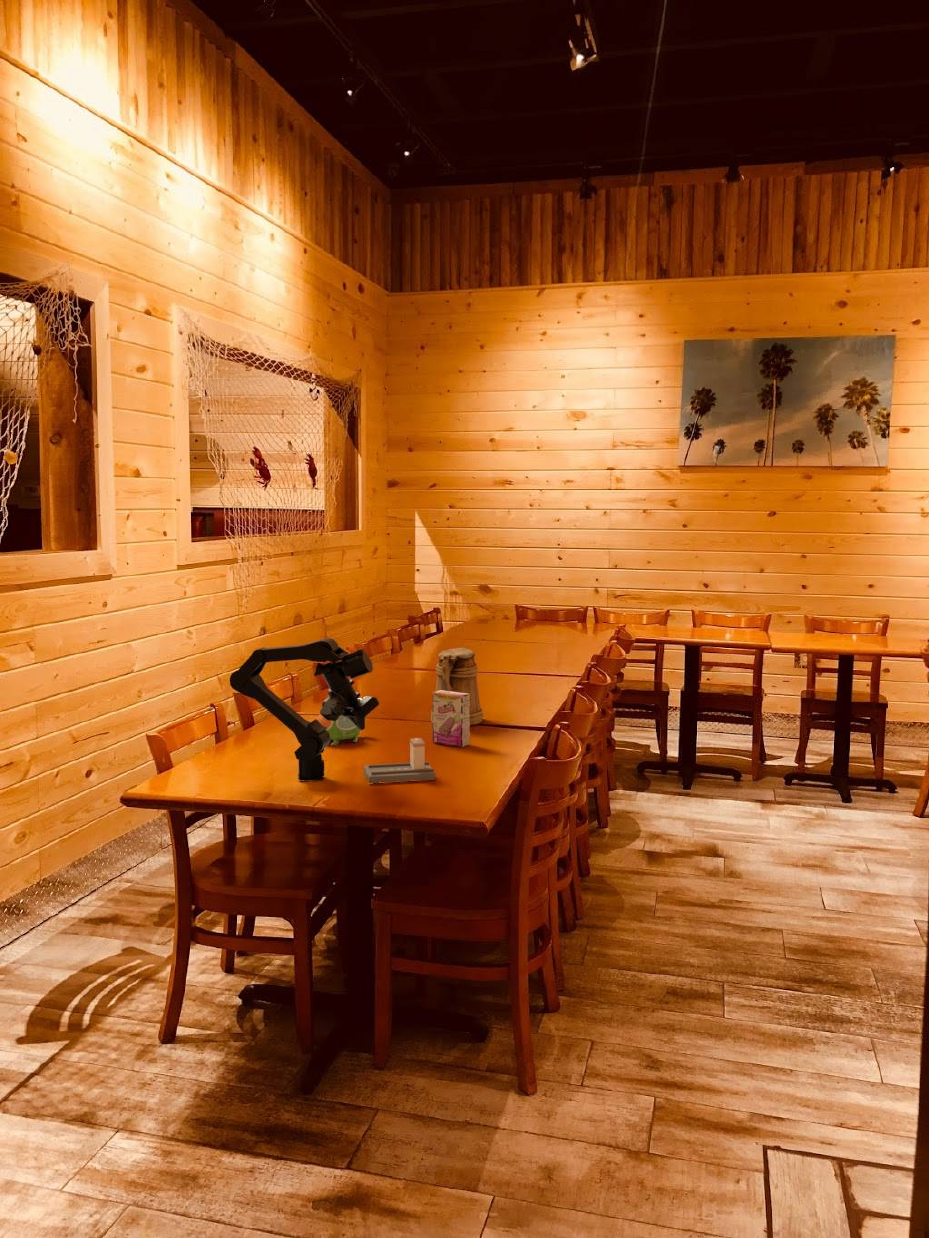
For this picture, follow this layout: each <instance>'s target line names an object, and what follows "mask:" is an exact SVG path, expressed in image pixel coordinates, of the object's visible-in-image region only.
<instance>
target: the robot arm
mask: <svg viewBox="0 0 929 1238" xmlns="http://www.w3.org/2000/svg"><path fill="white" fill-rule="evenodd" d="M295 660H296V661H297V660H299V661H300V660H305V661H309V662H318V663H317V664H316V666H315V671H314V673H313V676H314V677H317V676H320V675H322V677H323V679H324V680H325V682H326V684H327V686H328V688H329V689H328V690H327V695H328V697H327V698H326V699H324V700H323V701H322V704H321V709H320V711H319V715H320V714H321V715H322V716H323V717H324V718H325V719H327V720H331V721H336V720H337V719H338V718H339V716H341V715H343V716H347V717H348V718H349V719H350V720H351V721H352V722H353V723H354V724H355V725H356V726H357V727H358V728H359V729H360V730H361V731H364V730H365V728H366V718H365V716H367V717H368V715H369V714H371V712H372V711H374V710H375V709H376V708H377V707H378V706H380V702H379V700H378V698H377V697H375V696H369V695H365V696H364V697H362V698H360V697H361V693H360V692H357V691H355V688H354V686H353V685H354V684H355V681H354V680H353V679H355V678H359V677H361V676H364V675H368V674H370V673H373V669H374V667H373V661H372V659H371V658H370V657H369V655H368V653H367V652H365V648H361V649H358V650H356V651H354V652H351V653H349V652H348V651H346V650H345V649H343V648H342V647H340V646H339V643H337V641H336V640H335V639H333V638H332V637H326V638H321V639H319V640H316V641H313V642H312V641H311V642H309V643H304V644H299V645H296V644H295V645H285V646H284V645H283V646H273V647H272V646H271V647H260V648H257V649H255V650H253V652H252V653H251V655H250V656H249V657H248V658H247V659H246V661H244V662H243V664H242V665H241V666H240V667H239V668H238V669H237V670H235V671H233V672H232V673H231V674H230V676H229V685H230V687H231V689H233V690H234V691H235V692H238V693H239V694H241V695H243V696H244V697H248V698H250V699H253V700H254V701H256V702H257V703H258V704H260V705H261V706H262V707H263V708H264V709H265V710H267V711H268V713H270V714H271V715H272V716H274V717H275V718H276V719H277V720H278V721H279V722H281V723H282V724H283V725H285V727H286V728H287V729H289V730H290V731H291V732H293V734H294V736H295V737H296V738H295V739H296V740H297V742H298V743H299V744H300V746H299V747H298V748H297V749H295V751H294V752H293V753H294V757H295V758H296V760H297V761H298V763H297V764H298V773H297V777H298V781H299V780H316V781H323V780H324V777H325V761H324V759H323V756H322V754H324V752H325V751H324V750H325V749H326V747H328V746H329V745H330V744H331V740H330V734H329V732H328V731H327V730H326V729H327V727H324V726H323V725H321V724H320V722H319V721H318V719H317V718H316V719H313V720H312V721H309V720H307V719H305V718H303V716H301V715H300V714H299V713H298V712H296V710H295V709H293V708H292V707H291V706H289V705H288V704H287V703H286V702H285V701H283V699H281V698H280V697H279V696H278V695H277V694H275V693H274V692H273V691H272V690H271V689H269V688H268V686H267V685H266V683H265V680H264V679H263V677H262V676H261V675H260V674H261V673H262V671H263V670H264V668H265V666H266V664H267V663H273V662H274V663H275V662H286V661H295ZM325 662H326V663H325Z"/></svg>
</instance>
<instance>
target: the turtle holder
mask: <svg viewBox="0 0 929 1238" xmlns="http://www.w3.org/2000/svg"><path fill="white" fill-rule="evenodd" d="M367 717H368V715H367V716H365V719H366V718H367ZM317 720H318V721H319V722H320V724H321V725H323V726H324V727H327V729H326V730H327V731H328V732H329V734H330V741H331V740H332V741H331V742H330V743H329V745H330V746H331V747H333V746H332V745H336V746H338V745H339V743H340V740H347V739H348V740H349V739H352V743H353V742H356V743H358V742H357V741H359V735H360V732H361V731H362V730H360V729H359V728H358V727H357V726H356V725H355V724H354V723H353V722H352V721H351V720H350V719H349V718H348V717H347V716H343V715H341V716H339V718H338V719H337V720H336V721H331V720H327V719H325V718H324V717H323V716H322V715H321V714H320V713H319V716H318V719H317Z"/></svg>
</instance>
